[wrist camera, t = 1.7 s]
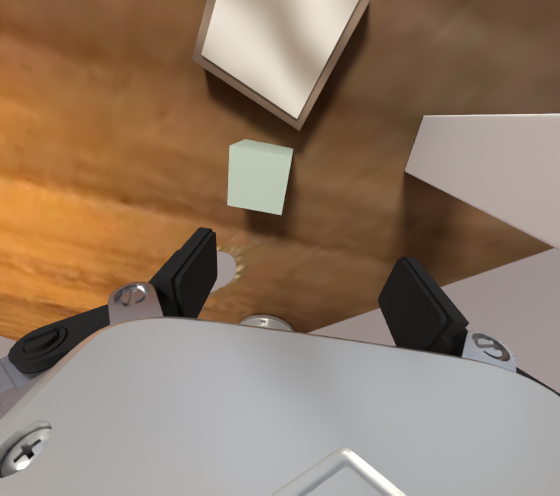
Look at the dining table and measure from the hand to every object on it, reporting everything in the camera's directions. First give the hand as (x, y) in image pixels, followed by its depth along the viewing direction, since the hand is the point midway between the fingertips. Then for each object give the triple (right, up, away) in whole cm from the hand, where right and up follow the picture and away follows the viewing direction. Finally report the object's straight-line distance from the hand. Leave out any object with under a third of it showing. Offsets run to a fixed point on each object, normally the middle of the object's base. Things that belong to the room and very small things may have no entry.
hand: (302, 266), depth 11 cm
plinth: (-1, +22, +10) cm, 24 cm away
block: (-3, +11, +17) cm, 20 cm away
